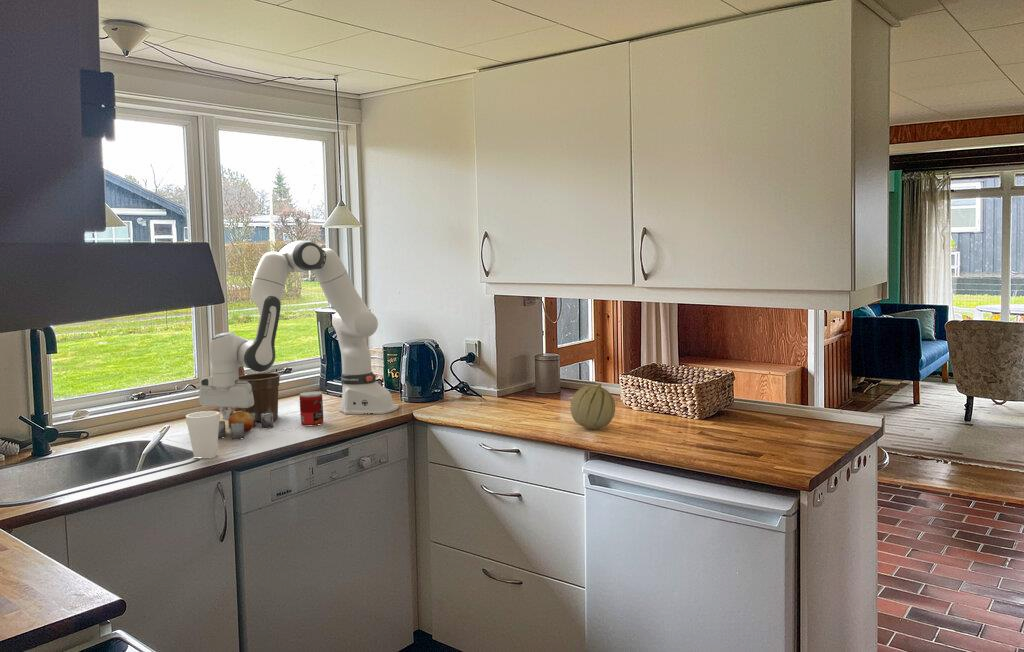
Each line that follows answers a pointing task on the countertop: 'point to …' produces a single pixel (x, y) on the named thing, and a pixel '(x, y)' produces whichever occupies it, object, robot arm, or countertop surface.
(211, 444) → the foam cup
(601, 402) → the cantaloupe
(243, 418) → the fruit
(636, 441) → the countertop surface
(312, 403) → the canned food
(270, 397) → the plant pot
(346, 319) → the robot arm
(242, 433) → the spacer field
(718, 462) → the countertop surface
